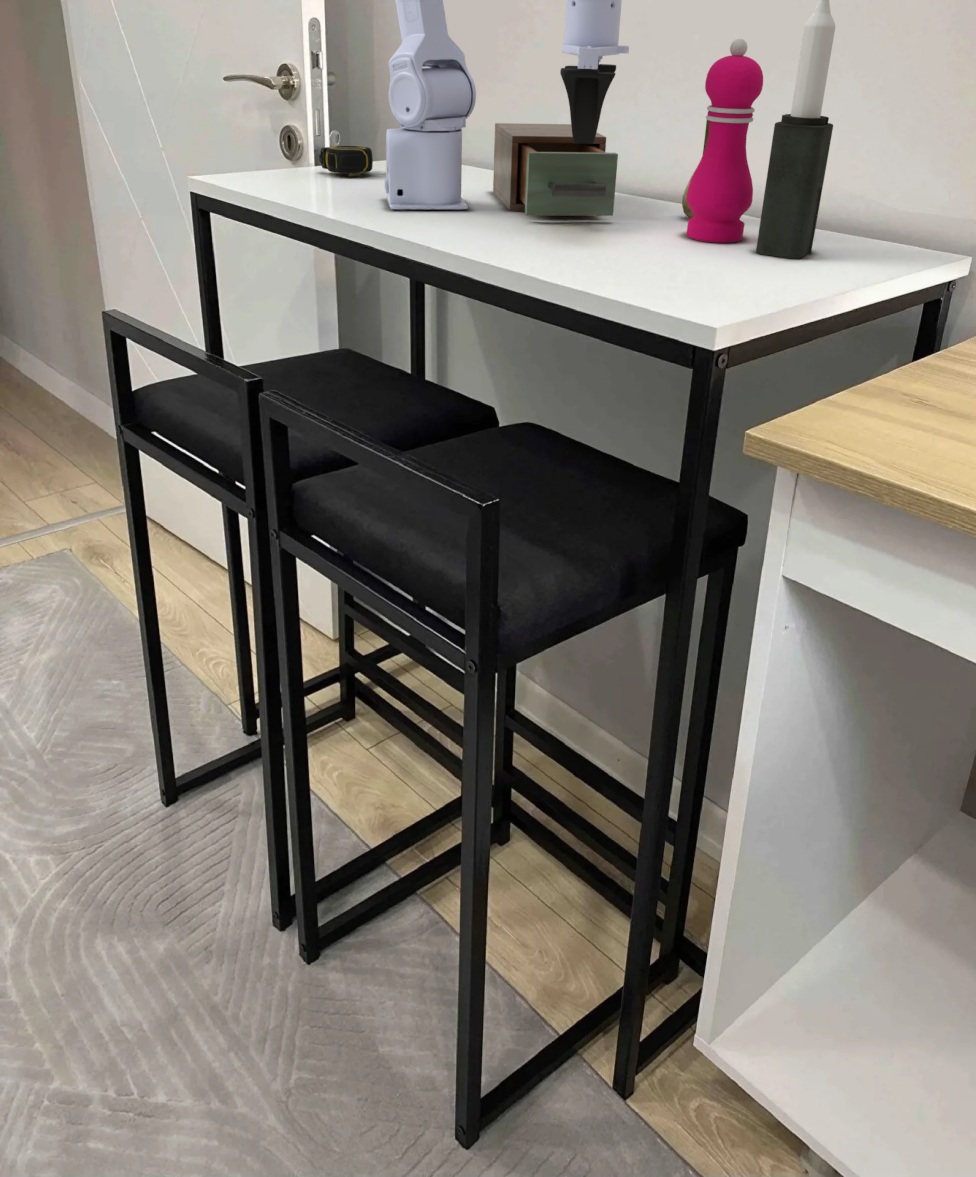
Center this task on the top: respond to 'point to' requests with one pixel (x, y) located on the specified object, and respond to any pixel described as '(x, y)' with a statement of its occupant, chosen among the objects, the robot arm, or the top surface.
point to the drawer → (566, 179)
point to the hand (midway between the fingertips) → (584, 139)
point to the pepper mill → (725, 150)
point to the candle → (800, 150)
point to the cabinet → (508, 154)
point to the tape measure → (346, 159)
